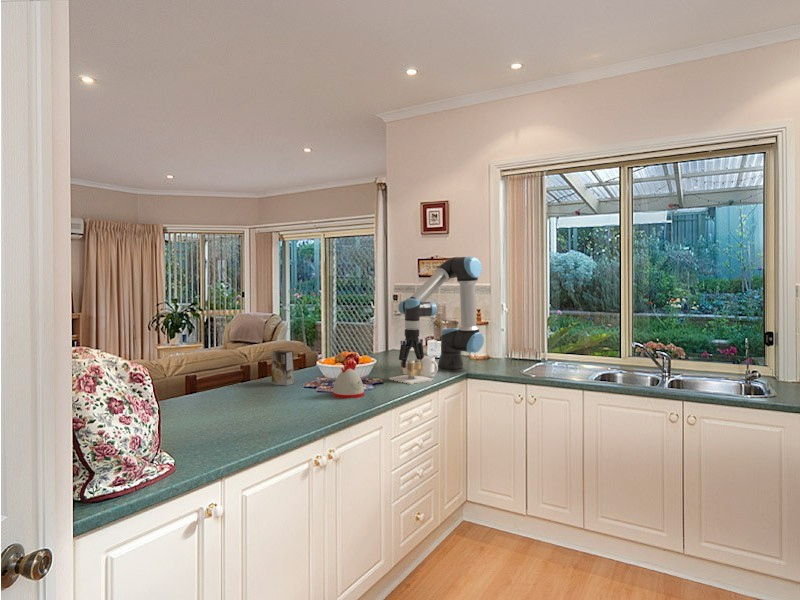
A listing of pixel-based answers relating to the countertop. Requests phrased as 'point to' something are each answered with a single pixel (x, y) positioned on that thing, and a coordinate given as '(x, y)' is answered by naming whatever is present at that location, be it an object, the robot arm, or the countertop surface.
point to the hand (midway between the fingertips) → (411, 372)
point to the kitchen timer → (348, 383)
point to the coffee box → (282, 367)
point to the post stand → (410, 377)
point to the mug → (429, 366)
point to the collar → (413, 368)
